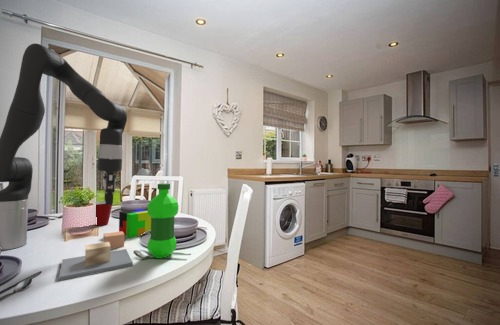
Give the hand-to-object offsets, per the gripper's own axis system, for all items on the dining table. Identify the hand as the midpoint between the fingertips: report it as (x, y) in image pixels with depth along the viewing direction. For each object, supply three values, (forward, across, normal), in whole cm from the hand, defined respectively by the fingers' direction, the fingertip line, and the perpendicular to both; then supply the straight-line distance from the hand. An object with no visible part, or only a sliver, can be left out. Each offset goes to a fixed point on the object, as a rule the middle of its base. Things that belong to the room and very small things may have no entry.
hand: (108, 202), depth 85 cm
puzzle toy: (+18, -20, +12) cm, 29 cm away
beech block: (+17, +11, -3) cm, 20 cm away
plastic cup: (+18, -44, -1) cm, 48 cm away
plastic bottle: (+18, +13, +16) cm, 27 cm away
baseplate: (+18, +11, -3) cm, 21 cm away
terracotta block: (+18, -6, +3) cm, 19 cm away
